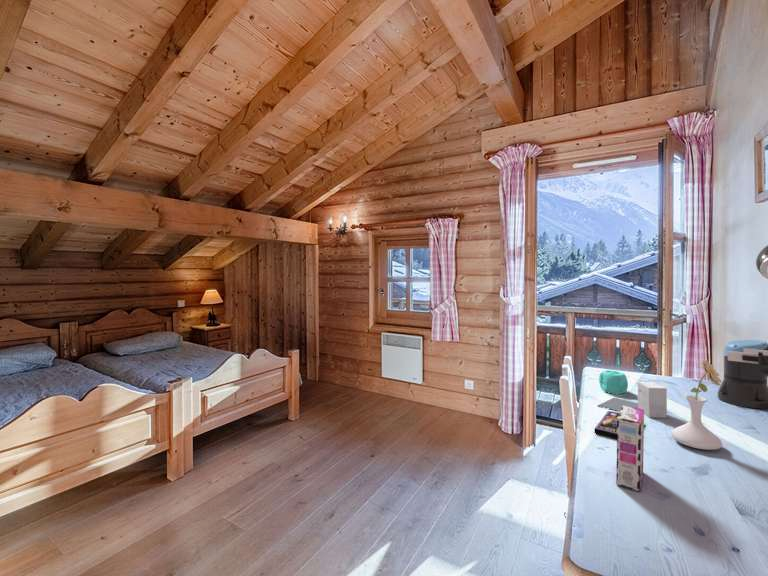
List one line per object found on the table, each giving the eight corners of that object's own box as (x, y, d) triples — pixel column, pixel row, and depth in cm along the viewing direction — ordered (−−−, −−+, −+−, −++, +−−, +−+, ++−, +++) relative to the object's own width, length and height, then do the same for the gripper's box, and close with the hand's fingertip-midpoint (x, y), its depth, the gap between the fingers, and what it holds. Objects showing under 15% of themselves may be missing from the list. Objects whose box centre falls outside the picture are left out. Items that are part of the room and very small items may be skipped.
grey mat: (614, 398, 143) (614, 397, 143) (643, 405, 135) (643, 404, 135) (597, 406, 135) (597, 405, 135) (627, 414, 127) (627, 413, 127)
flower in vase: (703, 456, 97) (704, 366, 96) (661, 438, 108) (661, 357, 107) (737, 449, 100) (737, 362, 100) (692, 432, 111) (692, 353, 111)
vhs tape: (594, 428, 112) (608, 410, 126) (594, 435, 112) (608, 417, 126) (631, 437, 106) (641, 417, 119) (631, 444, 106) (641, 424, 120)
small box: (667, 418, 122) (667, 388, 122) (648, 417, 124) (648, 387, 123) (654, 410, 130) (654, 381, 130) (637, 409, 131) (637, 381, 131)
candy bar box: (641, 493, 82) (641, 423, 81) (615, 485, 85) (615, 418, 84) (644, 471, 90) (644, 408, 90) (621, 465, 94) (621, 404, 93)
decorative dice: (606, 394, 148) (606, 375, 148) (598, 388, 156) (598, 370, 156) (628, 394, 147) (628, 375, 147) (618, 388, 155) (618, 370, 155)
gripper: (839, 385, 84) (721, 370, 103) (858, 375, 97) (750, 363, 115) (838, 354, 84) (720, 344, 103) (857, 348, 97) (749, 340, 115)
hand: (736, 354), depth 109 cm, fingers open, 13 cm apart
